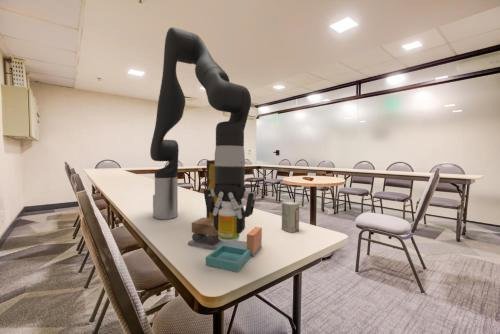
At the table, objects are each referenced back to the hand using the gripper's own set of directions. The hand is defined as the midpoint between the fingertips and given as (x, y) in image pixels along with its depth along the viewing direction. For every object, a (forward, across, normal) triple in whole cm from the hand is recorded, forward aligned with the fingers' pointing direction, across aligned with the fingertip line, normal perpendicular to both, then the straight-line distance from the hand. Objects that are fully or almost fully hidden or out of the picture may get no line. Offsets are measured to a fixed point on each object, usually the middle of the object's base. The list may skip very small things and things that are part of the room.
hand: (229, 230), depth 57 cm
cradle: (+8, 0, 0) cm, 8 cm away
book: (+8, -17, +26) cm, 32 cm away
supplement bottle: (+2, 0, 0) cm, 2 cm away
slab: (+7, -11, +8) cm, 15 cm away
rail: (+8, -6, +8) cm, 12 cm away
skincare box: (+8, +10, +30) cm, 33 cm away
